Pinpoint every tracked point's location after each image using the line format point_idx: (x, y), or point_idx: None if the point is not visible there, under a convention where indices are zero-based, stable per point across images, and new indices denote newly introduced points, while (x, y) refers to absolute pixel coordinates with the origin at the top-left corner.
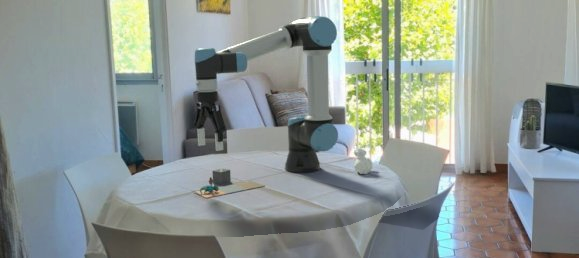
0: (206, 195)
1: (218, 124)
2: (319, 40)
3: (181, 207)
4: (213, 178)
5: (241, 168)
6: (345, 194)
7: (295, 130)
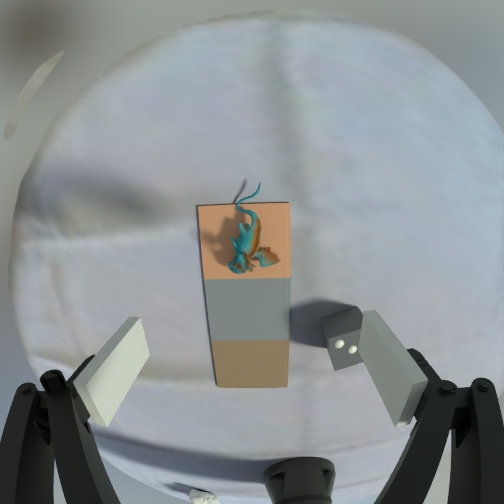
0: (219, 217)
1: (7, 418)
2: None
3: (157, 109)
4: (358, 313)
5: None
6: None
7: None
